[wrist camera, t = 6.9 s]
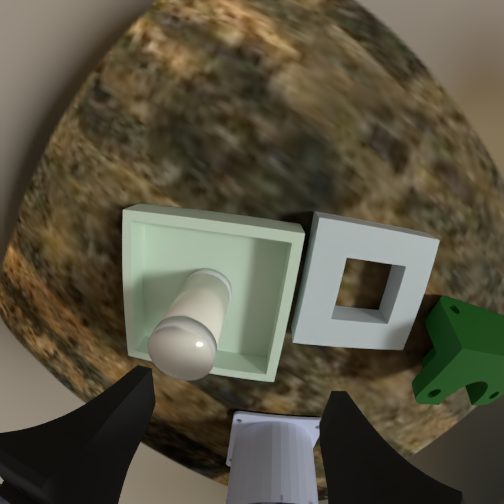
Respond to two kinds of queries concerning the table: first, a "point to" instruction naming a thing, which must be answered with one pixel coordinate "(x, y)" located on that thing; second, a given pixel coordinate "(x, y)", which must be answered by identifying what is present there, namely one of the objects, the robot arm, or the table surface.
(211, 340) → the cylinder
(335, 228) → the grey square frame
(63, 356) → the table surface
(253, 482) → the robot arm
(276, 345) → the parts tray
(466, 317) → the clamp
